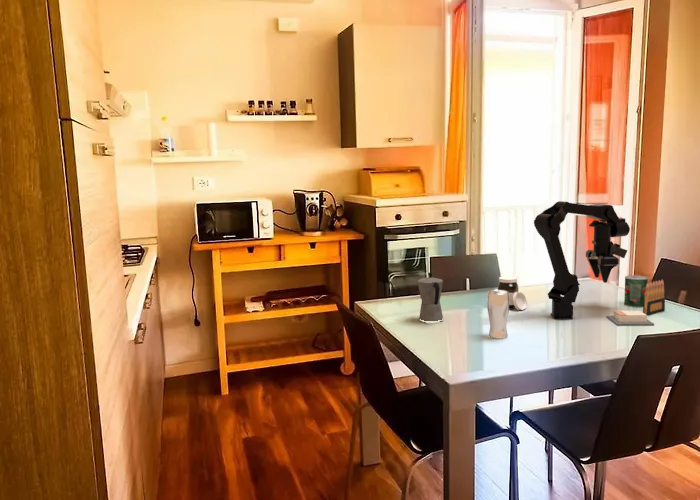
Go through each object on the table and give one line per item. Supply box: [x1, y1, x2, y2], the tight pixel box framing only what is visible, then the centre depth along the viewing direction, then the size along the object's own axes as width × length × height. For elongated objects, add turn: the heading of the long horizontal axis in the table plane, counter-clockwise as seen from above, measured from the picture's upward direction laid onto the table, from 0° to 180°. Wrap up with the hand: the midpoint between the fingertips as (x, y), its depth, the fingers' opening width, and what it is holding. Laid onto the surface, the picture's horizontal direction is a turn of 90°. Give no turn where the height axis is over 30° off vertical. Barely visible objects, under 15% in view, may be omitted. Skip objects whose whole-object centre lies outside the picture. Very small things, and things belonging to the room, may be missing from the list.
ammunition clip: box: [642, 279, 666, 317], centre depth 206 cm, size 11×2×12 cm, turn 120°
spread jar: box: [497, 275, 528, 311], centre depth 222 cm, size 12×11×12 cm
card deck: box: [612, 309, 648, 322], centre depth 197 cm, size 6×9×2 cm, turn 84°
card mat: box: [605, 315, 655, 327], centre depth 198 cm, size 12×11×1 cm
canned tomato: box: [623, 274, 649, 308], centre depth 218 cm, size 8×8×11 cm
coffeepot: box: [417, 272, 444, 321], centre depth 206 cm, size 15×9×18 cm, turn 10°
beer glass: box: [486, 289, 510, 340], centre depth 185 cm, size 7×7×15 cm
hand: (600, 279), depth 210 cm, fingers open, 9 cm apart
